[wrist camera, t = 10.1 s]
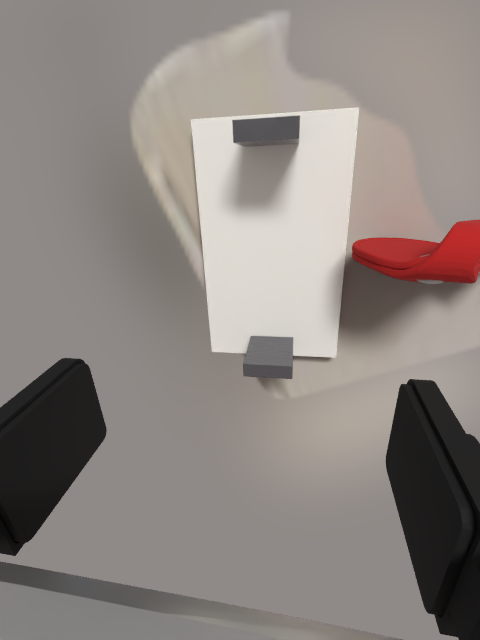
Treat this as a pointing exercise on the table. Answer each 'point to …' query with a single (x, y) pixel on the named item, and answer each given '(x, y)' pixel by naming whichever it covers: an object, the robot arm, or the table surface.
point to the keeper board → (275, 232)
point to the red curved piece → (425, 256)
